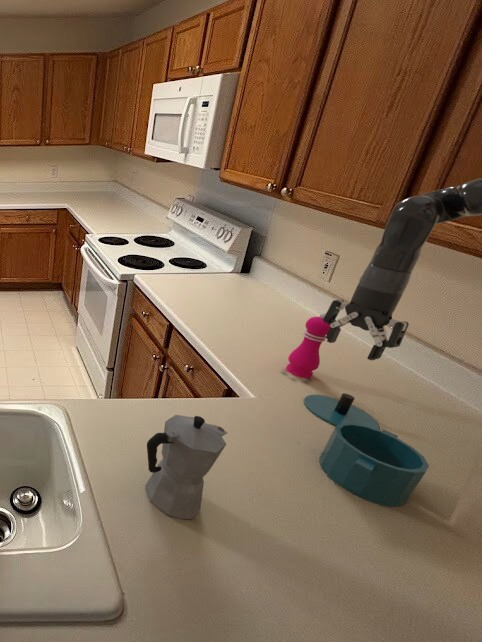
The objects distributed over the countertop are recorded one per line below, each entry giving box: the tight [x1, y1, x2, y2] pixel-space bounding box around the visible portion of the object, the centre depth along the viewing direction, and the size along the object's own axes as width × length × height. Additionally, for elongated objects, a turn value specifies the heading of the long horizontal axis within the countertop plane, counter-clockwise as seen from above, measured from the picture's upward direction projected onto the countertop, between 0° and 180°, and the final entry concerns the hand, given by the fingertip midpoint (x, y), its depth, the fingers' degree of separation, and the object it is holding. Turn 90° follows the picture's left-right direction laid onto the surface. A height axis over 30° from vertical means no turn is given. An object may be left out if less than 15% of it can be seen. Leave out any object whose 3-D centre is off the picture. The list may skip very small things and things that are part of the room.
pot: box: [319, 423, 430, 508], centre depth 82 cm, size 14×19×8 cm
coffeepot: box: [145, 414, 228, 520], centre depth 71 cm, size 15×9×18 cm, turn 105°
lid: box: [303, 392, 380, 430], centre depth 102 cm, size 15×15×6 cm
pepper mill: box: [285, 312, 330, 379], centre depth 118 cm, size 7×7×20 cm
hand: (350, 350), depth 97 cm, fingers open, 8 cm apart
